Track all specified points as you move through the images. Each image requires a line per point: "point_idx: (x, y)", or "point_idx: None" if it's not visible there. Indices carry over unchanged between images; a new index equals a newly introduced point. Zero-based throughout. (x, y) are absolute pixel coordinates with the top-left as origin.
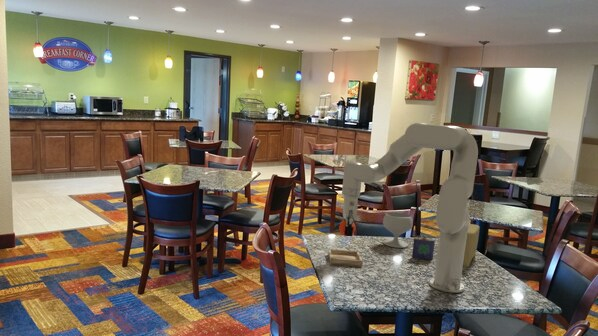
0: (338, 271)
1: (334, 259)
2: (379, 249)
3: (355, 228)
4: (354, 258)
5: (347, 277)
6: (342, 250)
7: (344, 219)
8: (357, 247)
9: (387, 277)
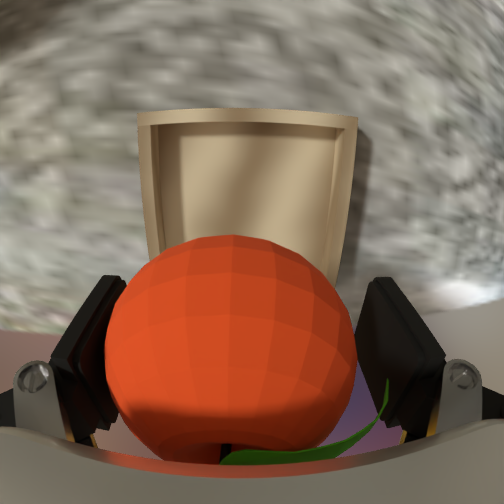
0: (407, 254)
1: (335, 283)
2: (14, 15)
3: (278, 263)
4: (225, 142)
5: (463, 227)
6: (151, 222)
7: (92, 438)
8: (2, 122)
9: (457, 46)
